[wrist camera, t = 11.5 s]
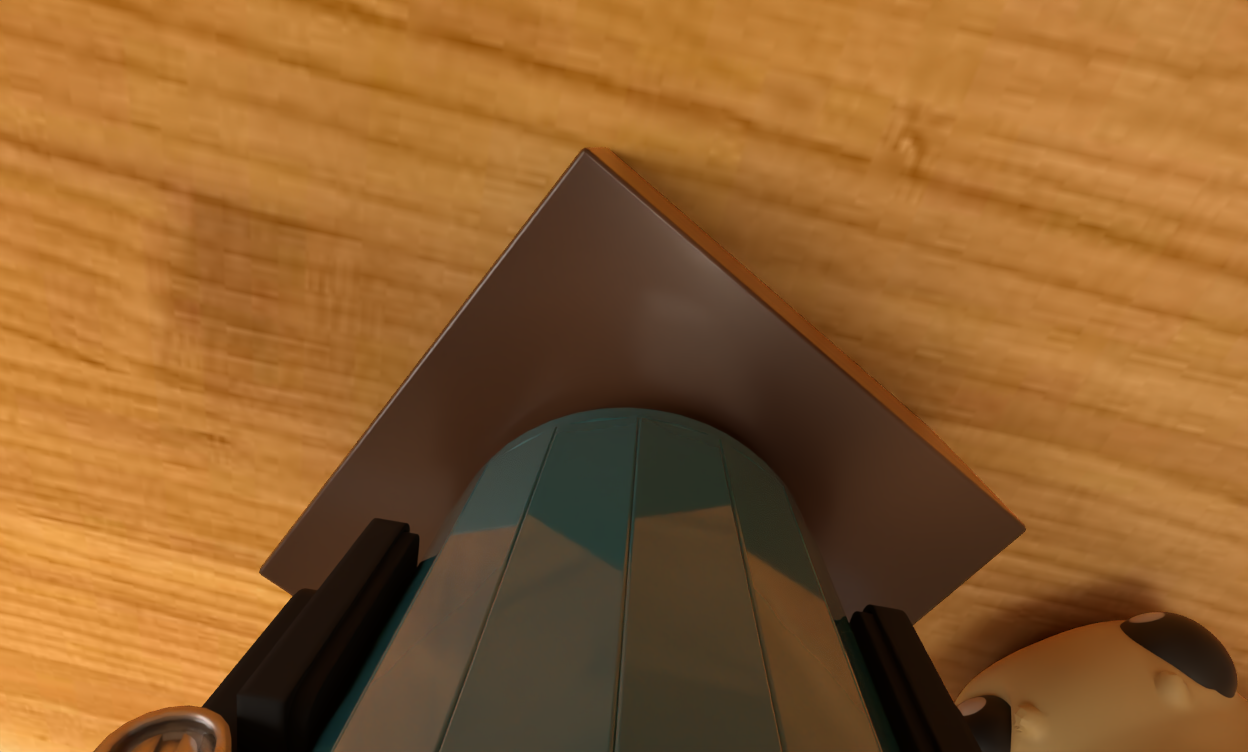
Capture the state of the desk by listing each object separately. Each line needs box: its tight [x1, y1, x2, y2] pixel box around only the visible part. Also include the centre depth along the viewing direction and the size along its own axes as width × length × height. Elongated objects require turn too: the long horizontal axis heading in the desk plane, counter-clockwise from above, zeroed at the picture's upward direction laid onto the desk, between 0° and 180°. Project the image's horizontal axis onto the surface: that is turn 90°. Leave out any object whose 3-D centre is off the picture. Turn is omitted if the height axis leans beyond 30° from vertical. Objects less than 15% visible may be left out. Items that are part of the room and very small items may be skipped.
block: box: [259, 148, 1026, 625], centre depth 16 cm, size 11×11×5 cm
